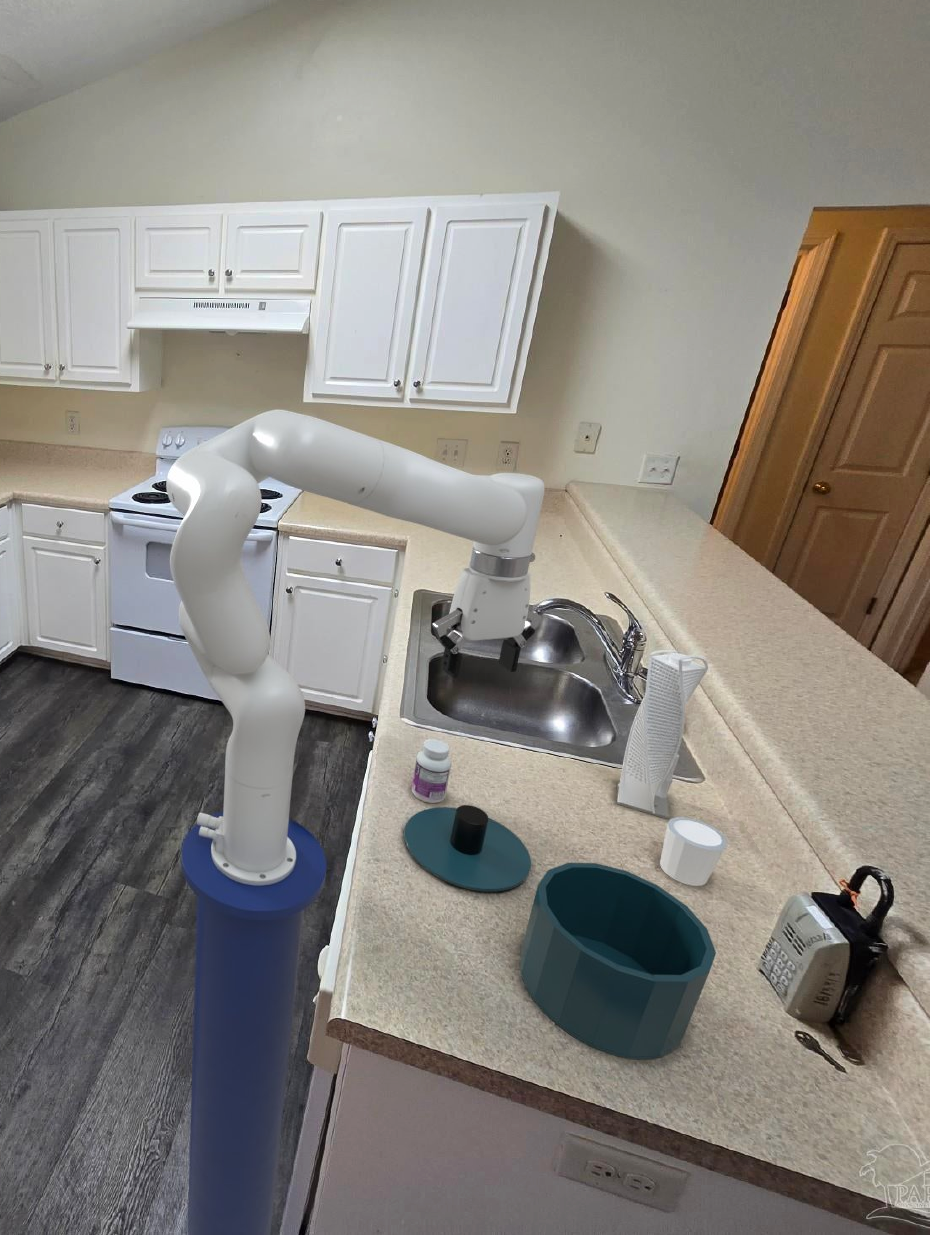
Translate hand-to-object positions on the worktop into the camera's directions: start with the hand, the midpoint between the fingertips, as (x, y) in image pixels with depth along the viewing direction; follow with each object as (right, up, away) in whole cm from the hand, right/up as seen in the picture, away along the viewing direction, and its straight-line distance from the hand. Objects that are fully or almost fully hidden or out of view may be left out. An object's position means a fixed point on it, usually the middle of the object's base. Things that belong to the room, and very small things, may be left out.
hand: (478, 670), depth 104 cm
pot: (+4, -35, -23) cm, 42 cm away
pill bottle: (-3, -22, +11) cm, 25 cm away
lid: (-2, -26, -1) cm, 26 cm away
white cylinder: (+27, -29, -5) cm, 40 cm away
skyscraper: (+31, -23, +10) cm, 40 cm away
